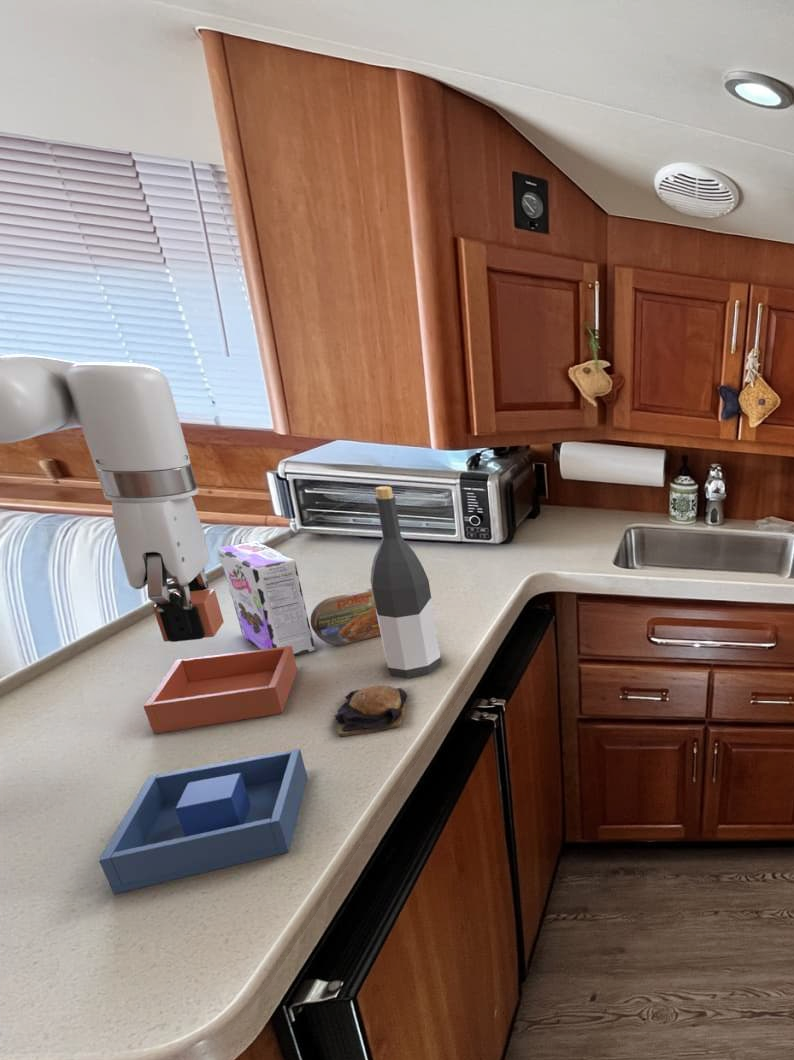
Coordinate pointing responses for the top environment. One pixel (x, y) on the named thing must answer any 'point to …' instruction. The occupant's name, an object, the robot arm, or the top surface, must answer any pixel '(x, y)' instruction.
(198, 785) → the blue block
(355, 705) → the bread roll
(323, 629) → the tin
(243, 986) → the top surface
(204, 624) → the terracotta block
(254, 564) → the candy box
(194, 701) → the terracotta bin
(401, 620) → the wine bottle
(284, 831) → the blue bin
